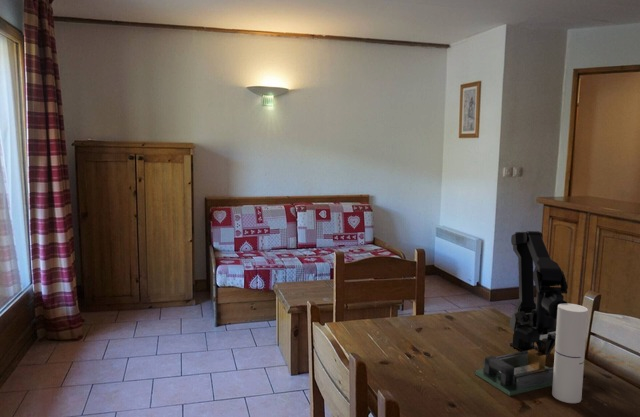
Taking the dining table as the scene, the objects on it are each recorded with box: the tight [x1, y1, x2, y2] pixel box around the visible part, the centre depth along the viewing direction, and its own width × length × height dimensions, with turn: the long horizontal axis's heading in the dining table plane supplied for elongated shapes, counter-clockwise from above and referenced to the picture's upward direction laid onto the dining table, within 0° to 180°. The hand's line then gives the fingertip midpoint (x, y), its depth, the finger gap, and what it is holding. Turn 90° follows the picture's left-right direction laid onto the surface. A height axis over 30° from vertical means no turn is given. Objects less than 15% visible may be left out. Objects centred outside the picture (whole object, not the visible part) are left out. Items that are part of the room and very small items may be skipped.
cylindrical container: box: [551, 302, 589, 404], centre depth 131 cm, size 7×7×25 cm
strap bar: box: [498, 349, 547, 376], centre depth 143 cm, size 14×4×5 cm, turn 113°
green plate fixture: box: [474, 351, 554, 396], centre depth 143 cm, size 22×14×6 cm, turn 113°
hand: (543, 358), depth 146 cm, fingers closed
